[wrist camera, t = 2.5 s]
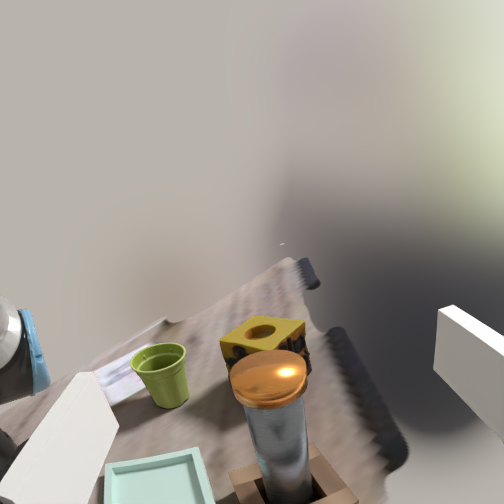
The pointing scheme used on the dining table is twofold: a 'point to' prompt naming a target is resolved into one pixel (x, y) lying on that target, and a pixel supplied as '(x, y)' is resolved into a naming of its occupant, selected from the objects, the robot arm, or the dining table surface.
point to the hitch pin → (277, 421)
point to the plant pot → (163, 373)
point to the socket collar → (322, 476)
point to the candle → (264, 339)
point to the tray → (159, 480)
